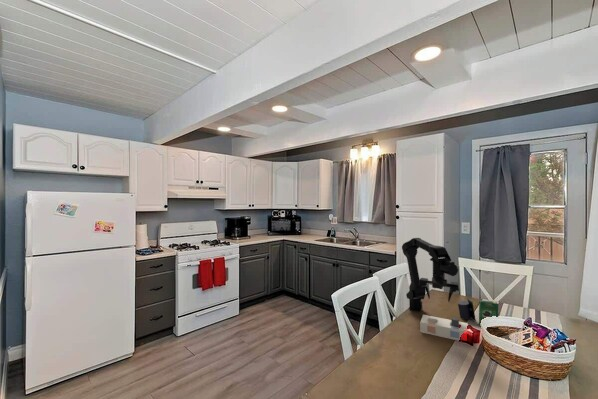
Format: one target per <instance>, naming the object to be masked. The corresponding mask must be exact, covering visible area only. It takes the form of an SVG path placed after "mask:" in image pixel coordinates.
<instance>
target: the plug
mask: <svg viewBox="0 0 598 399" xmlns="http://www.w3.org/2000/svg"><path fill="white" fill-rule="evenodd" d="M450 320H451V323H452V326H454V327H459V322H460V318H459V317H454V316H451V319H450Z"/></svg>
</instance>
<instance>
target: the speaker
mask: <svg viewBox="0 0 598 399" xmlns="http://www.w3.org/2000/svg"><path fill="white" fill-rule="evenodd" d="M457 306H458V312H459V317H460V318H459V319H462V320H470V319H472V320H473V321H474V322H476V321H477V320H476V314H475V308H474V303H473V301H472V300H471V299H469V298H467V300H460V301H457Z"/></svg>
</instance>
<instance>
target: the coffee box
mask: <svg viewBox="0 0 598 399" xmlns="http://www.w3.org/2000/svg"><path fill="white" fill-rule="evenodd" d="M478 301H479V304H478V325H480V323H481V320H482V319H484V318H486V317H492V316H496V317H498V318H499V303H498V302H497V301H490V300H482V299H479V300H478Z"/></svg>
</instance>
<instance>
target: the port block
mask: <svg viewBox="0 0 598 399" xmlns="http://www.w3.org/2000/svg"><path fill="white" fill-rule="evenodd" d="M459 325H461V327H460V328H459V327H454V326H452V323H451V319H447V318H443V317H439V316H438V317H436V316H431V315H427V314H422V317H421V320H420V323H419V326H420V327H419V328H420V333H422V334H427V335H432V336H435V337H441V338H446V339H450V340H454V341H459V340H460V337H461V335H462V334H463V333H464V332H467V331H464V329H467V326H468V325H469V324H468V322H462V321H459ZM468 327H469V326H468ZM459 342H460V341H459Z"/></svg>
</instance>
